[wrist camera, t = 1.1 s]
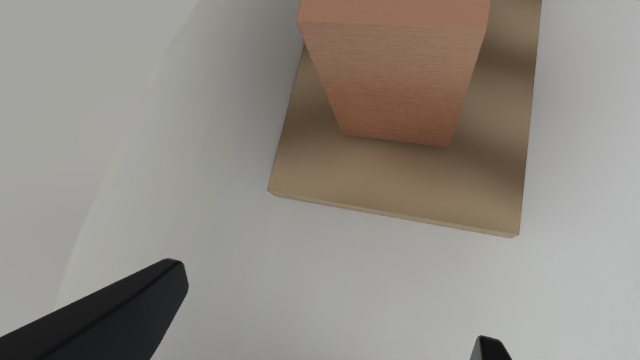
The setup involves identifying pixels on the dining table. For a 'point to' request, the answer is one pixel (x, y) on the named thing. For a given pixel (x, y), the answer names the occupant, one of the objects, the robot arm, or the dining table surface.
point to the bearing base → (425, 160)
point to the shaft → (395, 63)
